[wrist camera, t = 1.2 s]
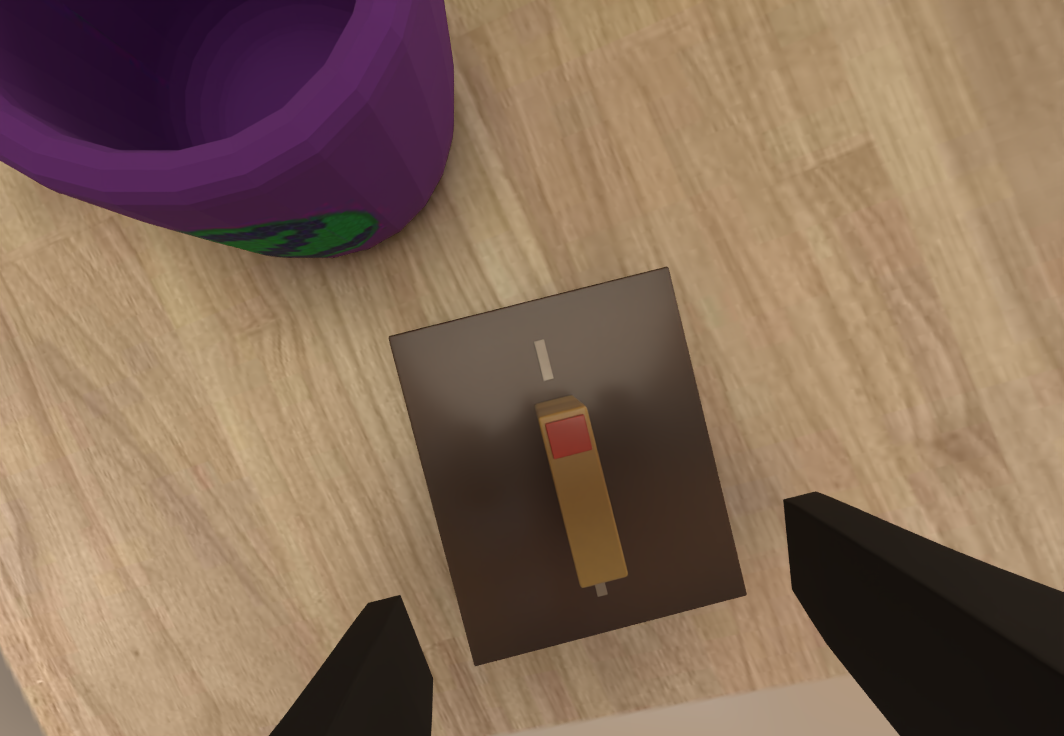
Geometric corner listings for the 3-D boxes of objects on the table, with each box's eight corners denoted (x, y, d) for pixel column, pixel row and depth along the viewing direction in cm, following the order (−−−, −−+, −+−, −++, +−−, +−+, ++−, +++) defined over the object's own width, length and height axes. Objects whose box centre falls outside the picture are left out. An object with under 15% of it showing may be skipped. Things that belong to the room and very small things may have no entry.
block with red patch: (607, 532, 17) (631, 581, 14) (568, 542, 17) (581, 594, 14) (573, 394, 17) (587, 406, 14) (534, 404, 17) (537, 418, 14)
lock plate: (714, 560, 21) (749, 597, 18) (481, 621, 21) (473, 670, 17) (646, 278, 20) (670, 265, 17) (407, 338, 20) (386, 336, 17)
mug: (449, -30, 20) (376, -425, 10) (488, 257, 20) (457, 164, 10) (4, 22, 19) (-548, -331, 9) (53, 313, 20) (-427, 274, 10)
